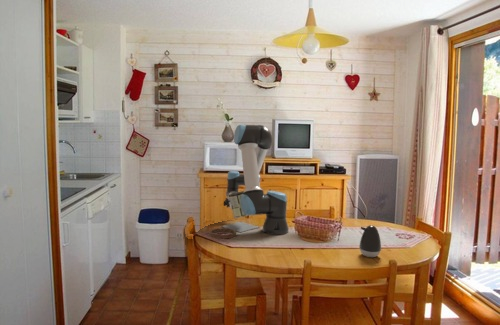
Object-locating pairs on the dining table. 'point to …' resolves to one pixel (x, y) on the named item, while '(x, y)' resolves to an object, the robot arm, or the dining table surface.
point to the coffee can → (236, 204)
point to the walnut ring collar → (223, 235)
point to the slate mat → (240, 227)
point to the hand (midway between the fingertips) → (240, 206)
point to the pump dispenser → (370, 242)
